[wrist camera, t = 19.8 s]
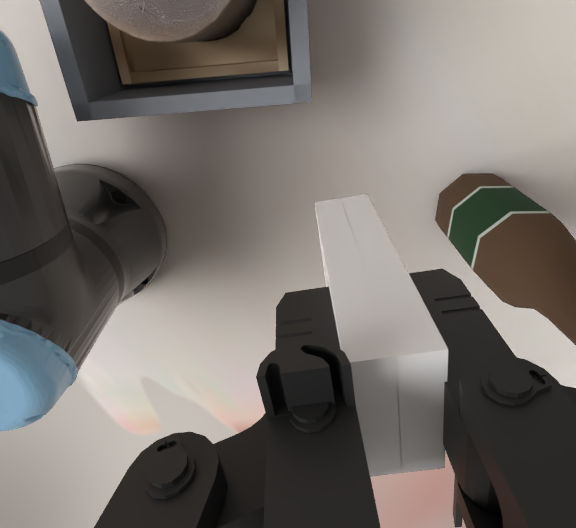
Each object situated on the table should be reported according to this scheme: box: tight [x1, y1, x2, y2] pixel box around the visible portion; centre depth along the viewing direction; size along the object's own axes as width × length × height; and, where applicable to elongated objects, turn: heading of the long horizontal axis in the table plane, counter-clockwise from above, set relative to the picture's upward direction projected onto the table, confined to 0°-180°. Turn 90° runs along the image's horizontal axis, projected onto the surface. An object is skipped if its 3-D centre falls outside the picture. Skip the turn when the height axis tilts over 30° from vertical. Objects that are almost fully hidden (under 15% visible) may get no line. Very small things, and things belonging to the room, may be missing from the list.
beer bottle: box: [435, 174, 576, 345], centre depth 34 cm, size 8×8×24 cm
